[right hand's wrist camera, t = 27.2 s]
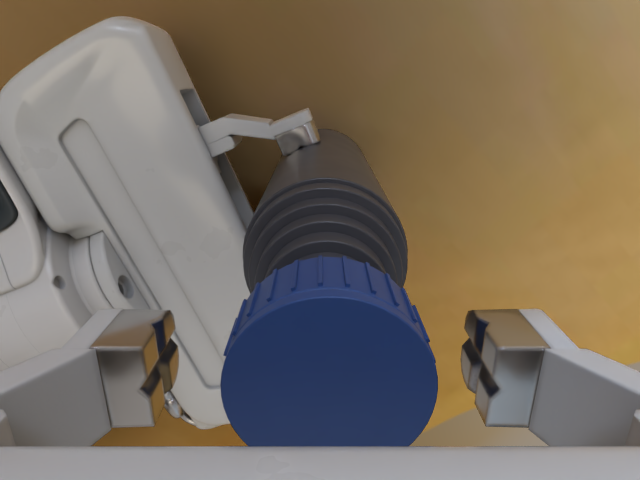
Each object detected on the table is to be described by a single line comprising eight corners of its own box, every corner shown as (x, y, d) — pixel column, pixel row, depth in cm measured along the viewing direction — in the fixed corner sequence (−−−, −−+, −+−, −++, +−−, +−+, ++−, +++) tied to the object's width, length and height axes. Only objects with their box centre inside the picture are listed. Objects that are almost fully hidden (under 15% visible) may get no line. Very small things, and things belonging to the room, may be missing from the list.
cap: (360, 216, 9) (369, 250, 7) (452, 363, 10) (478, 421, 8) (197, 313, 10) (170, 364, 8) (300, 439, 11) (297, 506, 9)
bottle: (363, 123, 25) (461, 230, 8) (370, 212, 27) (461, 458, 10) (272, 134, 25) (169, 260, 8) (284, 221, 27) (222, 478, 10)
